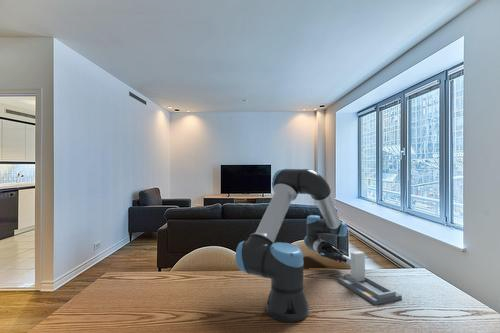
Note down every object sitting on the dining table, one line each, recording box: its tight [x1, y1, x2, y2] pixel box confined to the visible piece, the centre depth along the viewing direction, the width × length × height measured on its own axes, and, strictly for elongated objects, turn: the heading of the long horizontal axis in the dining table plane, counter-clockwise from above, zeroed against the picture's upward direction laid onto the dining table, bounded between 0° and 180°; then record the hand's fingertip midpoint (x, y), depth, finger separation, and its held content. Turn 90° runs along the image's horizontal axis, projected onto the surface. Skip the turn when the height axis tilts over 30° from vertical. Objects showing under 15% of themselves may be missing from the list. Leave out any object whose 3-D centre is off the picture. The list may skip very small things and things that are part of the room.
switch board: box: [338, 272, 403, 306], centre depth 115 cm, size 22×13×3 cm, turn 18°
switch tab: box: [350, 250, 366, 281], centre depth 120 cm, size 3×5×12 cm, turn 108°
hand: (352, 262), depth 125 cm, fingers closed
